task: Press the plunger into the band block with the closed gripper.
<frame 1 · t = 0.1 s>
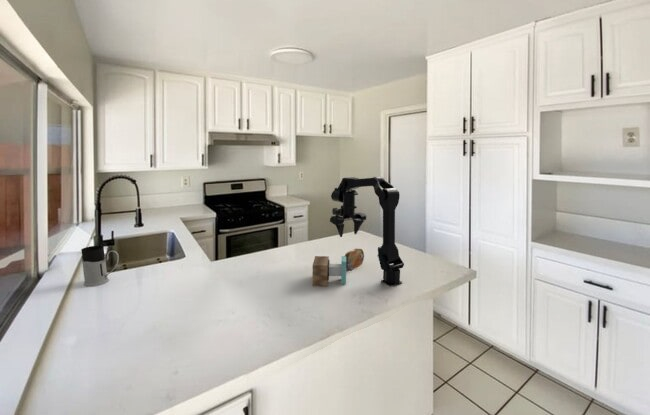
hand: (348, 235, 156), 15 cm above the counter, tool pointing down, fingers open, 9 cm apart
tin: (353, 267, 155), on the counter
plunger: (335, 269, 137), point 5 cm above the counter, slide at 5.0 cm
band block: (327, 280, 138), on the counter
grey black mug: (103, 282, 136), on the counter
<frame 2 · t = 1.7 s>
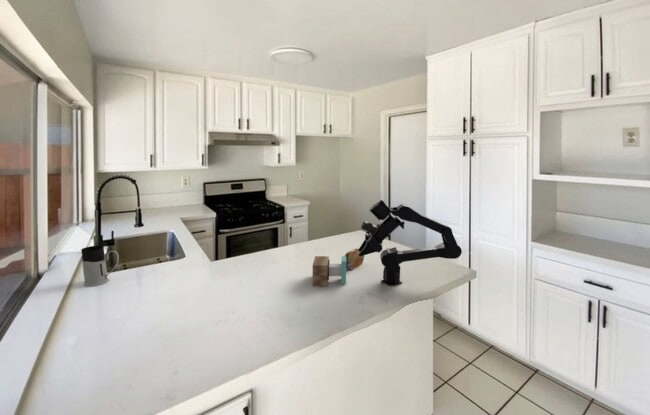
hand: (359, 253, 135), 13 cm above the counter, tool tilted 45°, fingers open, 6 cm apart
nothing on the counter moved.
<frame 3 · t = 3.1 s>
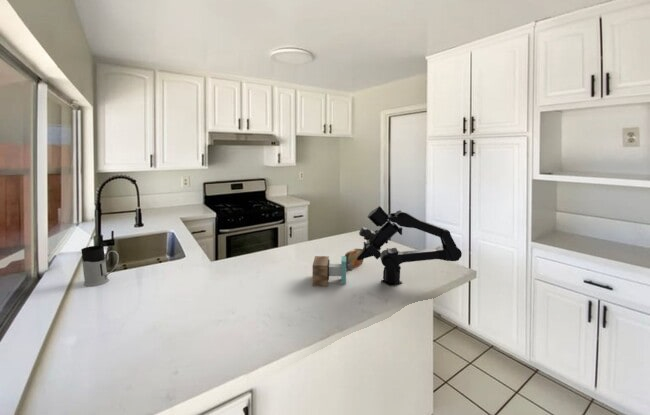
hand: (357, 259, 136), 10 cm above the counter, tool tilted 45°, fingers closed
nothing on the counter moved.
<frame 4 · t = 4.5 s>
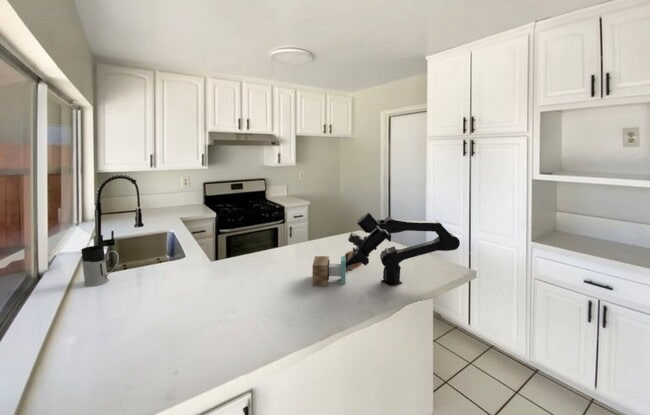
hand: (346, 265, 136), 7 cm above the counter, tool tilted 45°, fingers closed, pressing on plunger
plunger: (335, 269, 137), point 5 cm above the counter, slide at 4.8 cm, touching gripper
everything else where it was.
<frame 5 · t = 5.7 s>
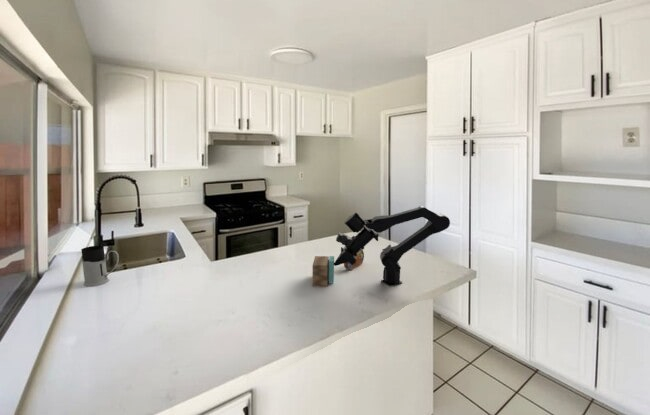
hand: (334, 264, 137), 7 cm above the counter, tool tilted 45°, fingers closed, pressing on plunger
plunger: (323, 269, 137), point 5 cm above the counter, slide at -0.2 cm, touching gripper
everything else where it was.
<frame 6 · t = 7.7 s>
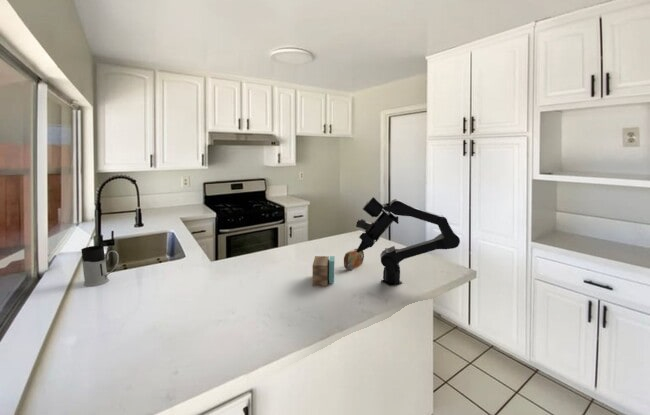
hand: (357, 252, 136), 13 cm above the counter, tool tilted 40°, fingers closed
plunger: (324, 269, 137), point 5 cm above the counter, slide at 0.0 cm
everything else where it was.
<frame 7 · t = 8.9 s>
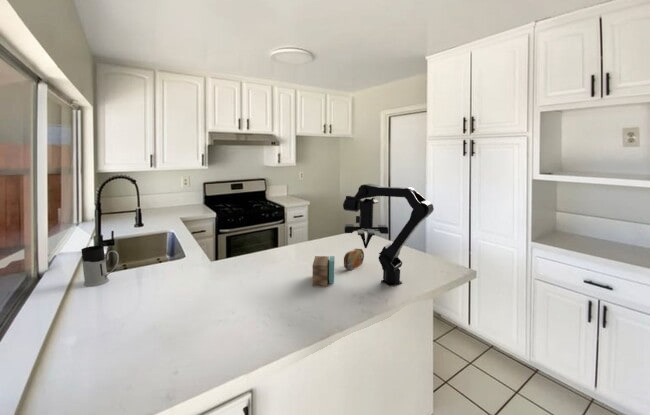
hand: (365, 248, 141), 13 cm above the counter, tool pointing down, fingers closed
nothing on the counter moved.
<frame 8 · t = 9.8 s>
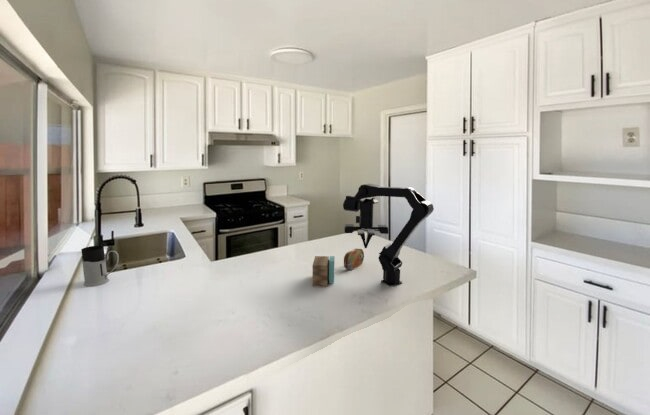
hand: (365, 248, 141), 13 cm above the counter, tool pointing down, fingers closed
nothing on the counter moved.
at the end: plunger slide at 0.0 cm; the gripper is holding nothing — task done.
